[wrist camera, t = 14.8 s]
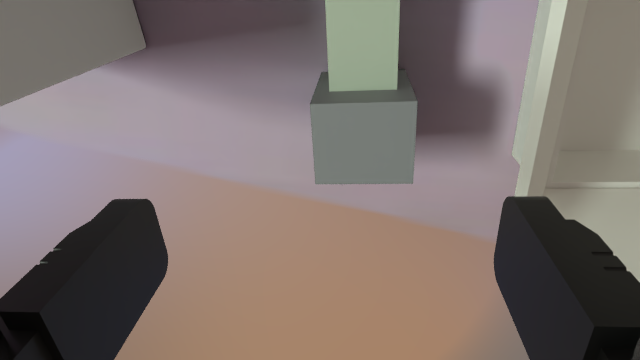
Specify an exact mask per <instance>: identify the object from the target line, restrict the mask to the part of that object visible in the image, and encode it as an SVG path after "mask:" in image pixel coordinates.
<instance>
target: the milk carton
mask: <svg viewBox="0 0 640 360" xmlns="http://www.w3.org/2000/svg"><path fill="white" fill-rule="evenodd" d="M145 47H146V44H145V40H144V36H143V33H142V30H141V26H140V23H139V20H138V17H137V13H136V10H135V7H134V3H133V0H0V106H2V105H5V104H7V103H10V102H12V101H15V100H17V99H20V98H22V97H25V96H27V95H30V94H32V93H35V92H37V91H40V90H42V89H45V88H47V87H50V86H52V85H55V84H57V83H60V82H62V81H65V80H67V79H70V78H72V77H75V76H77V75H80V74H82V73H85V72H87V71H90V70H92V69H95V68H97V67H100V66H102V65H105V64H107V63H110V62H112V61H115V60H117V59H120V58H122V57H125V56H127V55H130V54H132V53H135V52H137V51H140V50H142V49H144V48H145Z"/></svg>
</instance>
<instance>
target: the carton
mask: <svg viewBox="0 0 640 360" xmlns="http://www.w3.org/2000/svg"><path fill="white" fill-rule="evenodd" d="M512 156H513V157H514V158H515V159H516V161H517V162H518V163H519V165H520V170H519V175H518V181H517V186H516V191H515V196H545V197H547V198H549V199H550V201H551V202H552V203H553V204H554V206H555V207H556V208H557V210H558V211H559V212H560V213H561V215H562V216H563V217H564V218H565V219H574V220H576V221H578V222H579V223H581V224H582V225H584V226H585V227H587V228H589V229H590V230H592V231H593V232H595V233H597V234H598V235H599V236H600V237H601V238H602V240H603V241H604V242H605V243H606V244H607V245H608V247H609V248H610V249H611V250H612V251H613V255H614V256H617V257H618V258H619V259H620V260H621V262H622V263H623V264H624V265H625V266H626V270H627V271H630V272H631V273H632V274H633V275H634V277H635V278H636V279H637V280H638V281H639V282H640V0H539V4H538V10H537V15H536V21H535V27H534V32H533V38H532V43H531V49H530V55H529V60H528V66H527V72H526V77H525V83H524V88H523V94H522V100H521V105H520V111H519V116H518V122H517V128H516V133H515V139H514V145H513V150H512Z"/></svg>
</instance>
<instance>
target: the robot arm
mask: <svg viewBox="0 0 640 360" xmlns="http://www.w3.org/2000/svg"><path fill="white" fill-rule="evenodd" d="M167 266H168V254H167V249H166V246H165V243H164V239H163V236H162V232H161V229H160V226H159V222H158V219H157V215H156V212H155V209H154V206H153V204H152V203H151V202H150V201H149V200H148V199H115V200H112V201H111V202H110V203H109V204H108V205H107V206H106V207H105V208H104V209H103V210H101V212H99V213H98V214H97V215H96V216H95V217H94V219H92V220H91V221H89V222H88V223H86V224H85V225H83V226H81V227H79V228H78V229H76V230H74V231H73V232H71V233H69V234H68V235H67V236H66V237H65V238H64V239H63V240H62V241H61V242H60V243H59V244H58V245H57V246H56V247H55V248H54V251H53V252H49V253H48V254H47V255H46V256H45V257H44V258H43V259H42V260H41V261H40V265H36V266H34V267H33V269H31V270H30V271H29V272H28V273H27V274H26V275H25V276H24V277H23V278H22V279H21V280H20V281H19V282H18V283H16V285H14V286H13V287H12V288H11V289H10V290H9V291H8V292H7V293H6V294H5V295H4V296H3V297H2V298H1V299H0V360H114V359H115V357H116V355H117V354H118V352H119V350H120V349H121V347H122V346H123V344H124V342H125V340H126V339H127V337H128V336H129V334H130V332H131V331H132V329H133V328H134V326H135V324H136V323H137V321H138V319H139V318H140V316H141V315H142V313H143V311H144V310H145V308H146V306H147V305H148V303H149V302H150V300H151V298H152V297H153V295H154V293H155V291H156V290H157V289H158V287H159V285H160V284H161V282H162V280H163V279H164V277H165V274H166V271H167ZM494 270H495V276H496V280H497V283H498V286H499V288H500V291H501V293H502V295H503V298H504V300H505V302H506V305H507V307H508V309H509V312H510V314H511V316H512V319H513V321H514V323H515V326H516V328H517V331H518V333H519V335H520V338H521V340H522V342H523V345H524V347H525V349H526V352H527V354H528V356H529V359H530V360H640V282H639V281H638V280H637V279H636V278H635V277H634V275H633V274H632V273H631V272H630V271H627V270H626V266H625V265H624V264H623V263H622V262H621V260H620V259H619V258H618V257H617V256H614V255H613V251H612V250H611V249H610V248H609V247H608V245H607V244H606V243H605V242H604V241H603V240H602V238H601V237H600V236H599V235H598V234H597V233H595V232H593V231H592V230H590V229H589V228H587V227H585V226H584V225H582V224H581V223H579V222H578V221H576V220H574V219H565V218H564V217H563V216H562V215H561V213H560V212H559V211H558V210H557V208H556V207H555V206H554V204H553V203H552V202H551V201H550V199H549V198H547V197H545V196H512V197H507V198H506V199H505V201H504V203H503V207H502V213H501V218H500V224H499V230H498V236H497V242H496V248H495V253H494Z"/></svg>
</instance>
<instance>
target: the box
mask: <svg viewBox="0 0 640 360" xmlns="http://www.w3.org/2000/svg"><path fill="white" fill-rule="evenodd" d="M325 9H326V30H327V52H328V72H322V73H321V75H320V78H319V81H318V83H317V86H316V89H315V92H314V94H313V97H312V100H311V103H310V112H311V126H312V141H313V155H314V170H315V184H413V175H414V157H415V139H416V121H417V103H418V101H417V99H416V96H415V94H414V91H413V89H412V86H411V84H410V81H409V79H408V76H407V74H406V71H405V69H401V70H398V45H399V13H400V0H325Z"/></svg>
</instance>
